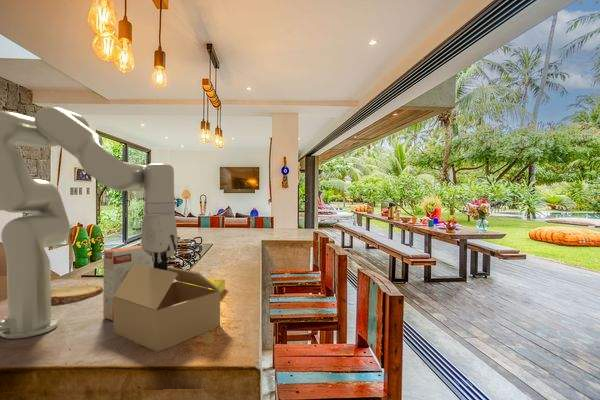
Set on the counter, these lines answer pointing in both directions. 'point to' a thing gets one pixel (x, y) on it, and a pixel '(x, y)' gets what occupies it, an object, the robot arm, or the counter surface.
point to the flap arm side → (145, 285)
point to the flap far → (192, 278)
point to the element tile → (217, 284)
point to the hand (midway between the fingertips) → (160, 276)
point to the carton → (168, 317)
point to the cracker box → (120, 272)
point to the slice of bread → (74, 293)
